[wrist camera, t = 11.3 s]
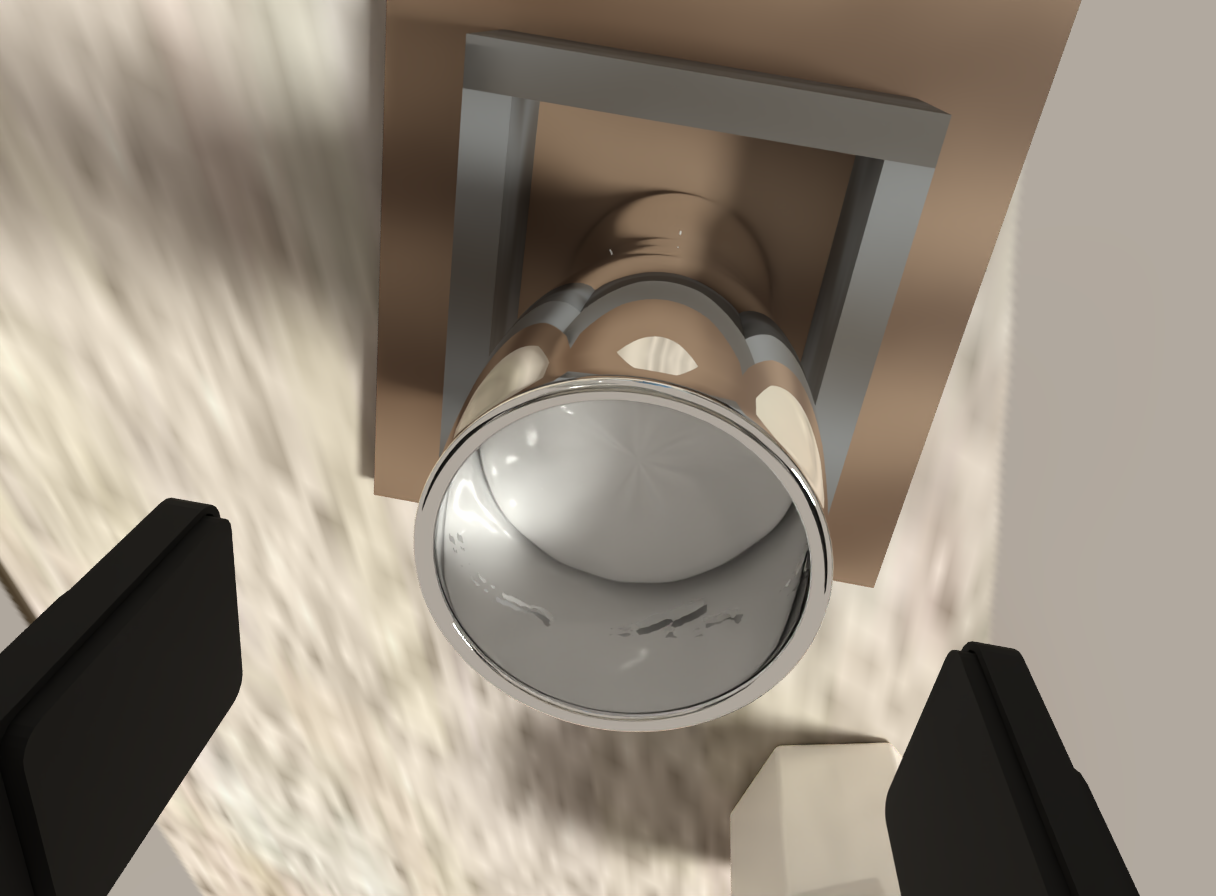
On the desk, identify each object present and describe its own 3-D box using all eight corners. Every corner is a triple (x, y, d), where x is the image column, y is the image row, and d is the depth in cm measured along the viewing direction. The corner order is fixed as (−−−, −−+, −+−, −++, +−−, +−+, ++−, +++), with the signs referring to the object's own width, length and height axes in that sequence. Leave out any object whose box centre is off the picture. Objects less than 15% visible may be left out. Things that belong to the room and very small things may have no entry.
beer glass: (829, 320, 27) (935, 634, 13) (643, 435, 29) (578, 796, 16) (699, 125, 25) (672, 267, 11) (511, 266, 27) (308, 519, 14)
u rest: (403, -172, 23) (328, -213, 19) (1089, -62, 23) (1179, -78, 18) (383, 481, 32) (329, 556, 28) (869, 571, 32) (893, 663, 27)
